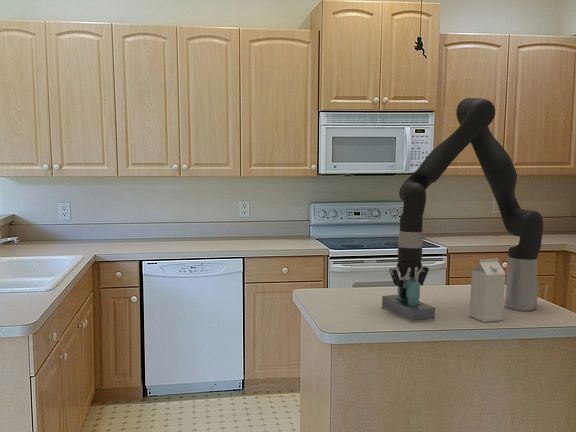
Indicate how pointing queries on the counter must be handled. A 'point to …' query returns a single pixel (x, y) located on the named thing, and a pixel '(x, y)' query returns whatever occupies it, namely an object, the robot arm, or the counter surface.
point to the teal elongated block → (411, 292)
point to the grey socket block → (408, 309)
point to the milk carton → (487, 291)
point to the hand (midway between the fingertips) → (408, 298)
